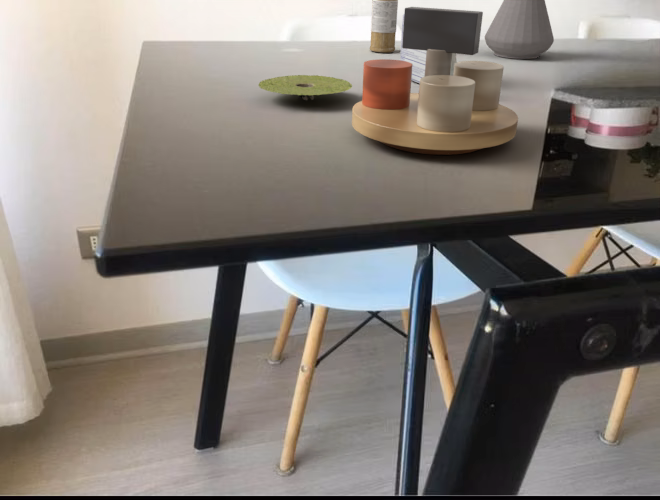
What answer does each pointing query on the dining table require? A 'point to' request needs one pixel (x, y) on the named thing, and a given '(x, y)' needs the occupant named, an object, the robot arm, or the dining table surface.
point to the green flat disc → (305, 85)
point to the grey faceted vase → (520, 30)
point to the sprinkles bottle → (383, 25)
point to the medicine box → (414, 59)
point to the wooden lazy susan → (436, 89)
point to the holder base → (428, 151)
